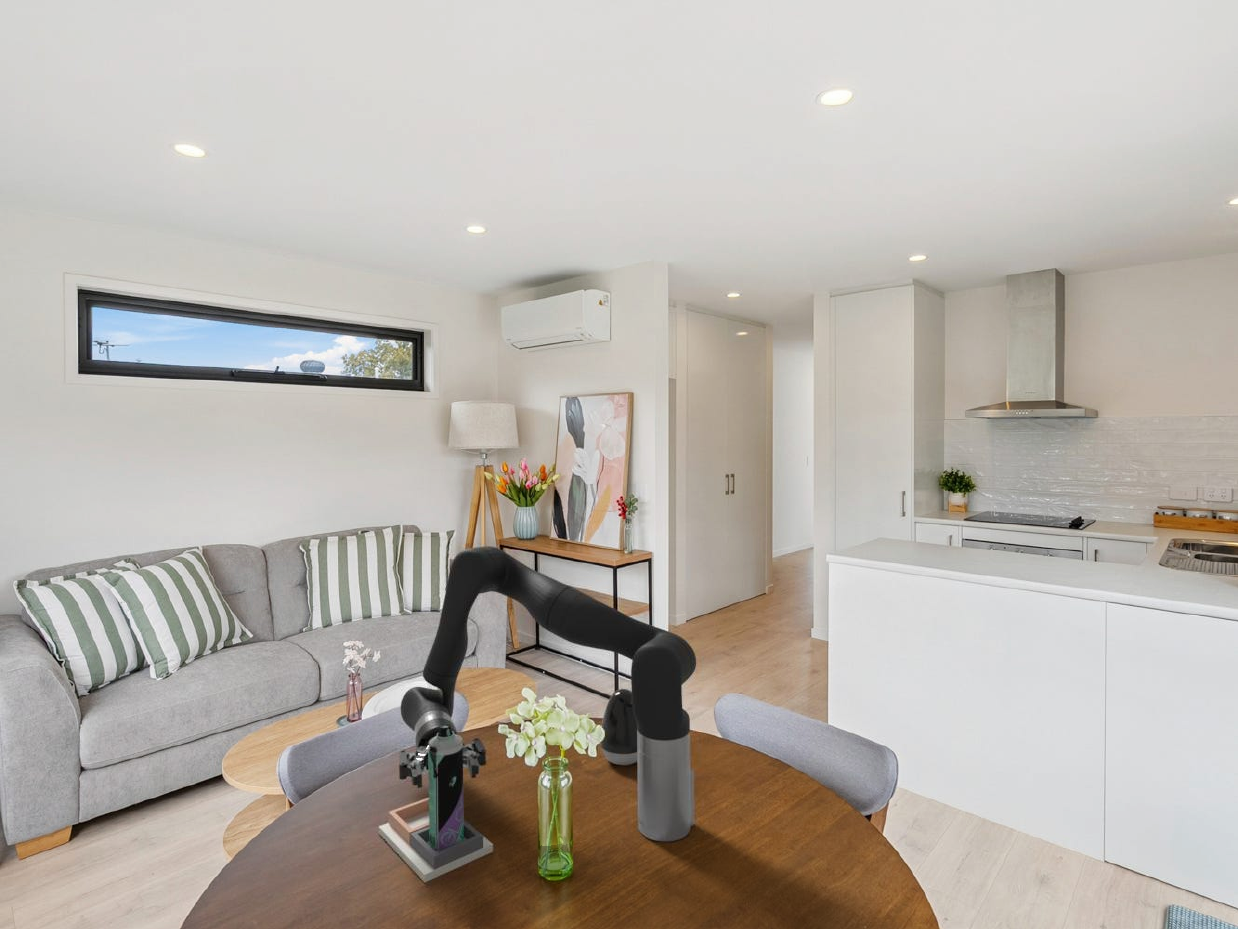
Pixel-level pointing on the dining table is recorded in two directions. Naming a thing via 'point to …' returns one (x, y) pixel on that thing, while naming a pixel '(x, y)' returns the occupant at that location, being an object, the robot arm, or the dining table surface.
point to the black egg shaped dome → (620, 729)
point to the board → (413, 846)
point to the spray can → (445, 789)
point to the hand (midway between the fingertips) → (447, 777)
